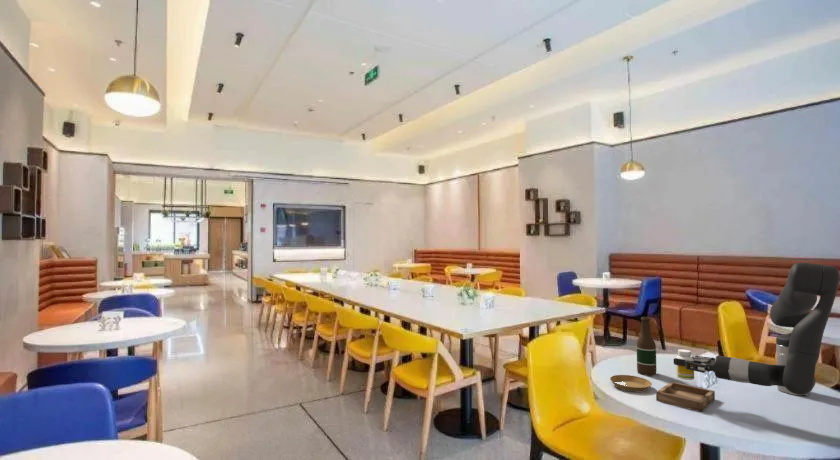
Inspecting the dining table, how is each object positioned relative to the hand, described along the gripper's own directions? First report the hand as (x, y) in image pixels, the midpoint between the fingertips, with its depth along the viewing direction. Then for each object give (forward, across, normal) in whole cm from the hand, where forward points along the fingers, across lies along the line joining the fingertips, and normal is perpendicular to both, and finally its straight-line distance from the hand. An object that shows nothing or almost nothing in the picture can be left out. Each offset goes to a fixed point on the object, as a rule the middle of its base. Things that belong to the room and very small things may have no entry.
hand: (676, 359), depth 154 cm
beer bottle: (+19, -22, +14) cm, 32 cm away
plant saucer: (+17, 0, +14) cm, 22 cm away
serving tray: (-2, 0, +14) cm, 14 cm away
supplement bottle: (-3, 0, +6) cm, 7 cm away
